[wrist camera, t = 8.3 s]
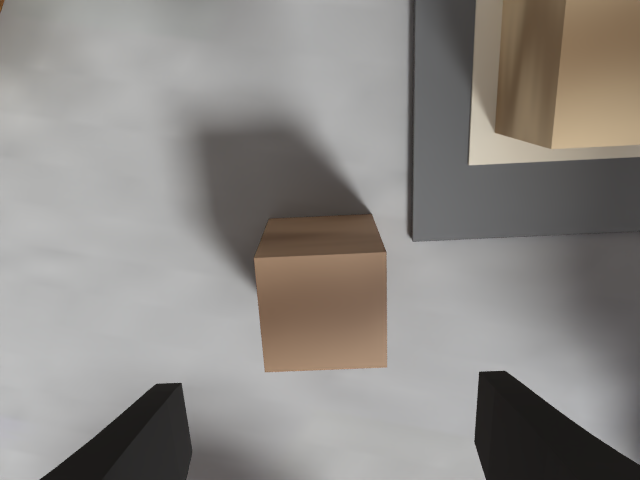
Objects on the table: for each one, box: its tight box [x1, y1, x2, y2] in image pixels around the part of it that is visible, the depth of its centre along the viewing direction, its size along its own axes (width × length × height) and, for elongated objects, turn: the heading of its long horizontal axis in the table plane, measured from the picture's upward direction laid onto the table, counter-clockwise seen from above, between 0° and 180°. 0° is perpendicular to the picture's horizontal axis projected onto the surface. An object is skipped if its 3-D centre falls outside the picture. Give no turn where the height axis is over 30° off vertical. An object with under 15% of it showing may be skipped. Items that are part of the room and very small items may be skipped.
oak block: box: [495, 0, 640, 149], centre depth 16 cm, size 6×6×5 cm
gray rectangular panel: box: [412, 0, 640, 242], centre depth 19 cm, size 14×12×1 cm
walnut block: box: [254, 214, 387, 372], centre depth 19 cm, size 4×4×5 cm
